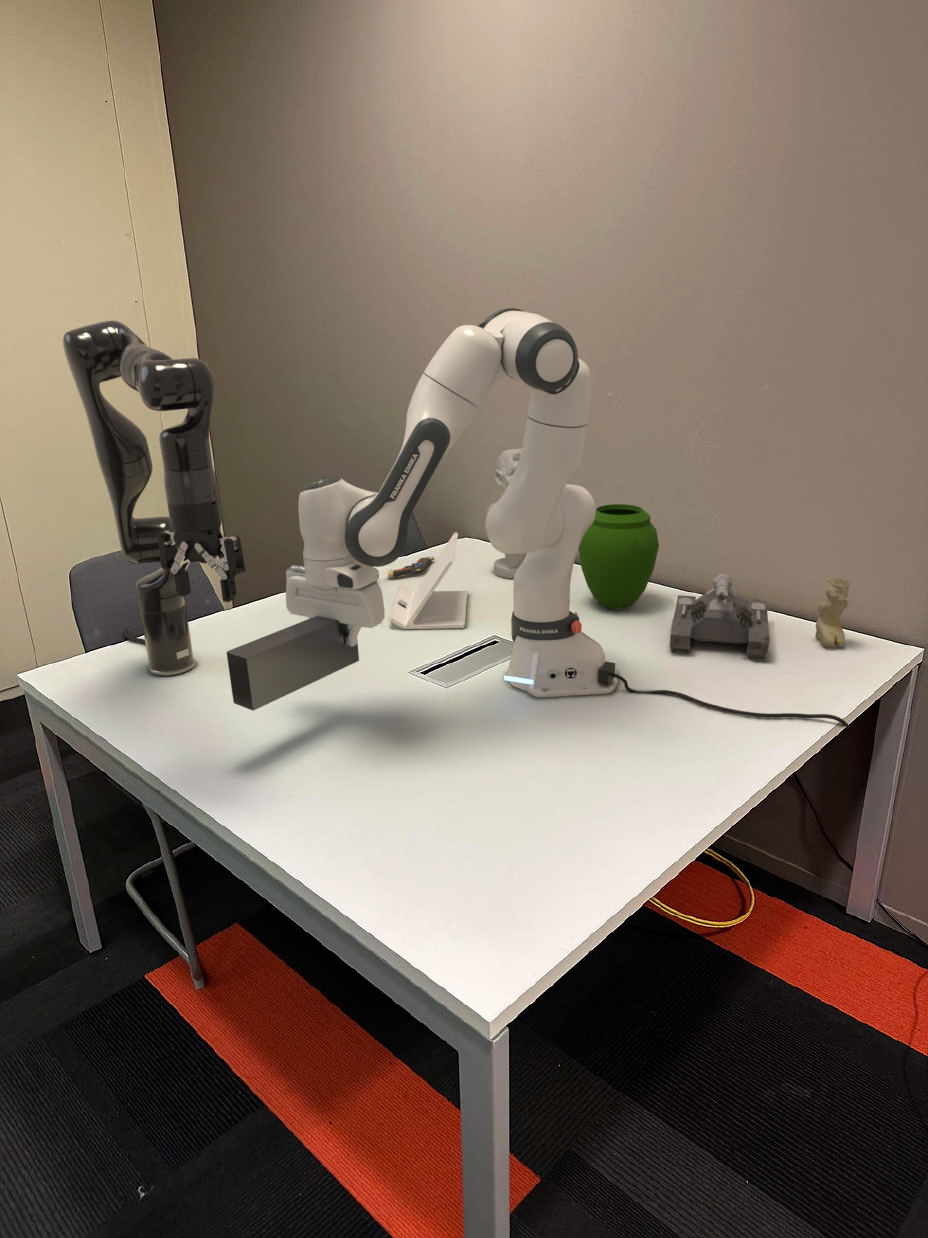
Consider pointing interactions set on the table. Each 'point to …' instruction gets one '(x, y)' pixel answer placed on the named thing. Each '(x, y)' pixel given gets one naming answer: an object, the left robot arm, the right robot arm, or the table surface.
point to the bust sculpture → (502, 476)
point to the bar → (288, 660)
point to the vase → (618, 554)
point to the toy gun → (411, 567)
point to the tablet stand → (431, 599)
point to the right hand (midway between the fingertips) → (337, 642)
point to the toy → (721, 619)
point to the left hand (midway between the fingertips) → (207, 597)
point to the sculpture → (832, 613)
